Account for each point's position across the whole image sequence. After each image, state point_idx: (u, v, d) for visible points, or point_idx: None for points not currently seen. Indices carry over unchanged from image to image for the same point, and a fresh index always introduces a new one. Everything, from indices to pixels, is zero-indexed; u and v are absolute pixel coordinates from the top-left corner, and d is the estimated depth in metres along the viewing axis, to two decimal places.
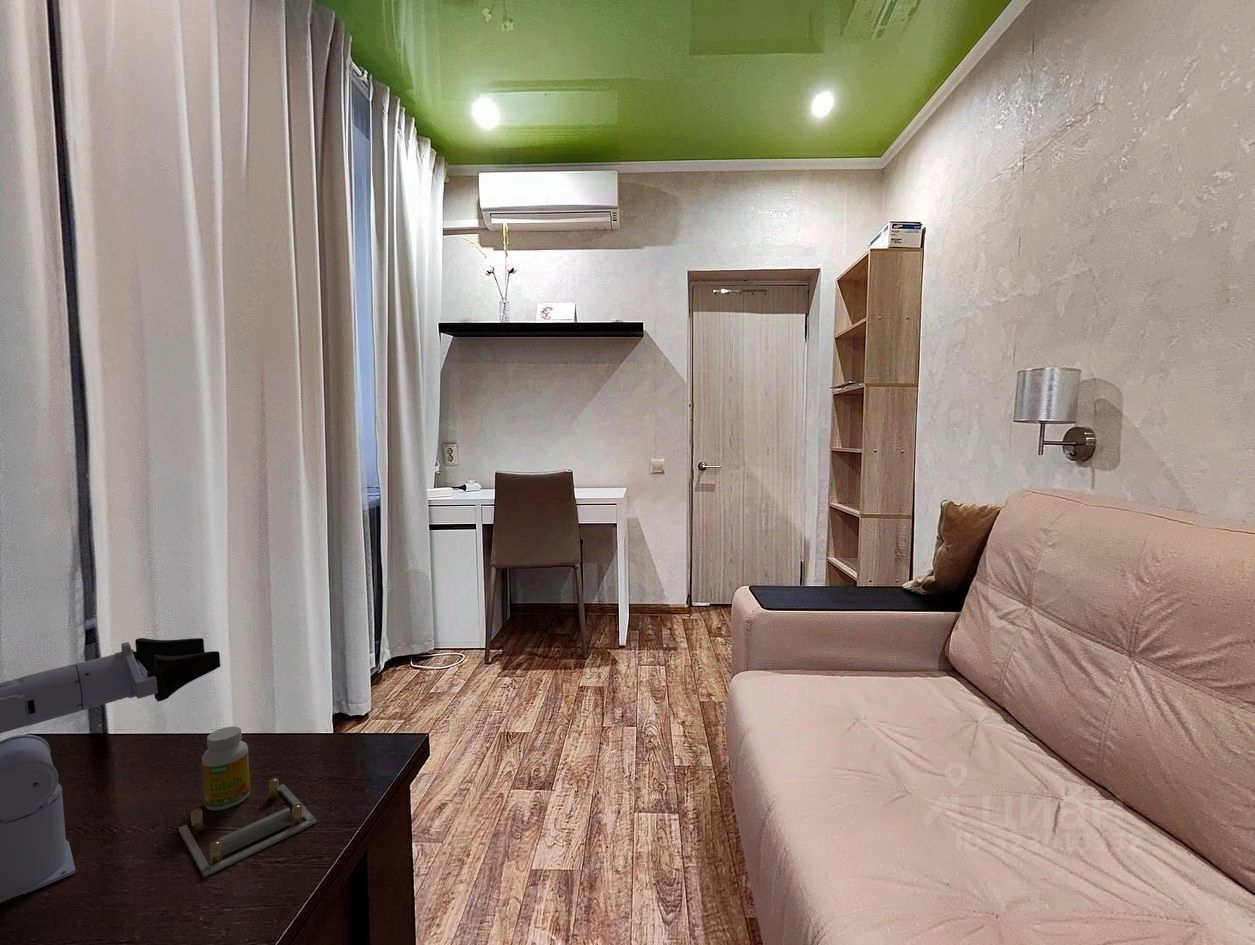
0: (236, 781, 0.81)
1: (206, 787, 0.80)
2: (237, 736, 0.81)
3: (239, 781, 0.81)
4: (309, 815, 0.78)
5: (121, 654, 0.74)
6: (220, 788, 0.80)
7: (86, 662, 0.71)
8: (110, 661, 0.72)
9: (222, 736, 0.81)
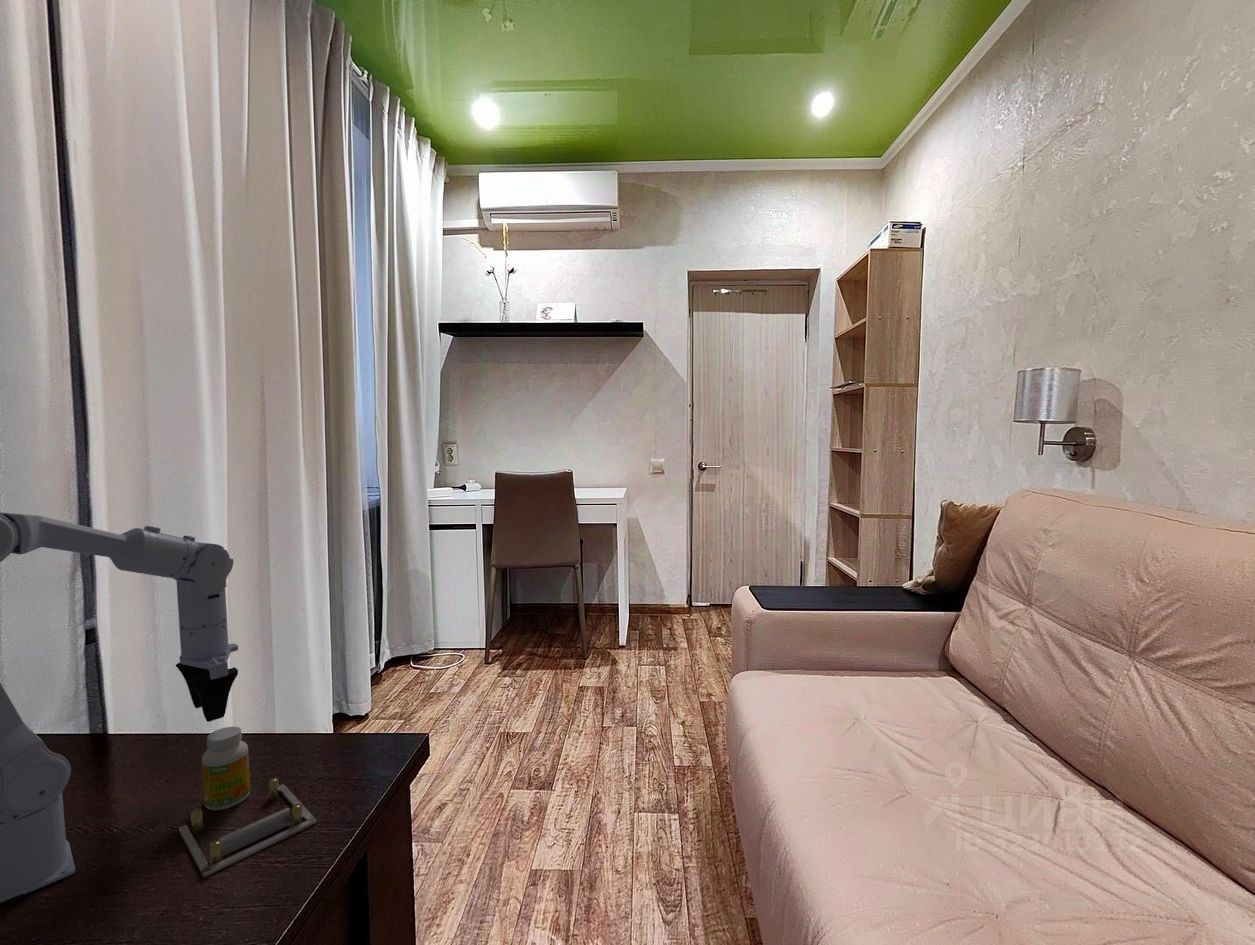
0: (236, 781, 0.81)
1: (206, 787, 0.80)
2: (237, 736, 0.81)
3: (239, 781, 0.81)
4: (309, 815, 0.78)
5: None
6: (220, 788, 0.80)
7: None
8: (227, 639, 0.87)
9: (222, 736, 0.81)
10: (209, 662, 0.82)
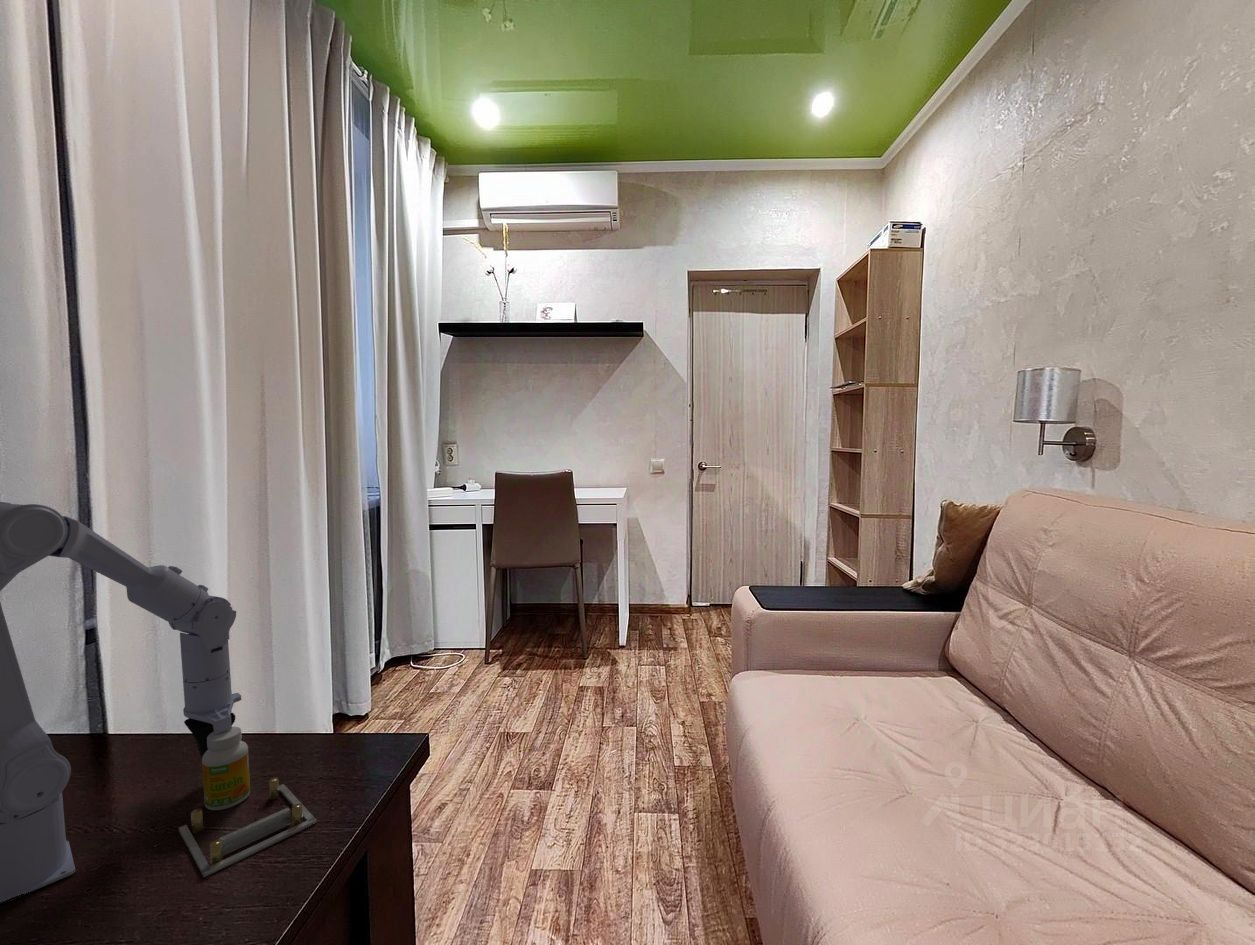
0: (236, 781, 0.81)
1: (206, 787, 0.80)
2: (237, 736, 0.81)
3: (239, 781, 0.81)
4: (309, 815, 0.78)
5: None
6: (220, 788, 0.80)
7: (229, 674, 0.88)
8: (231, 690, 0.88)
9: (222, 736, 0.81)
10: (213, 716, 0.83)
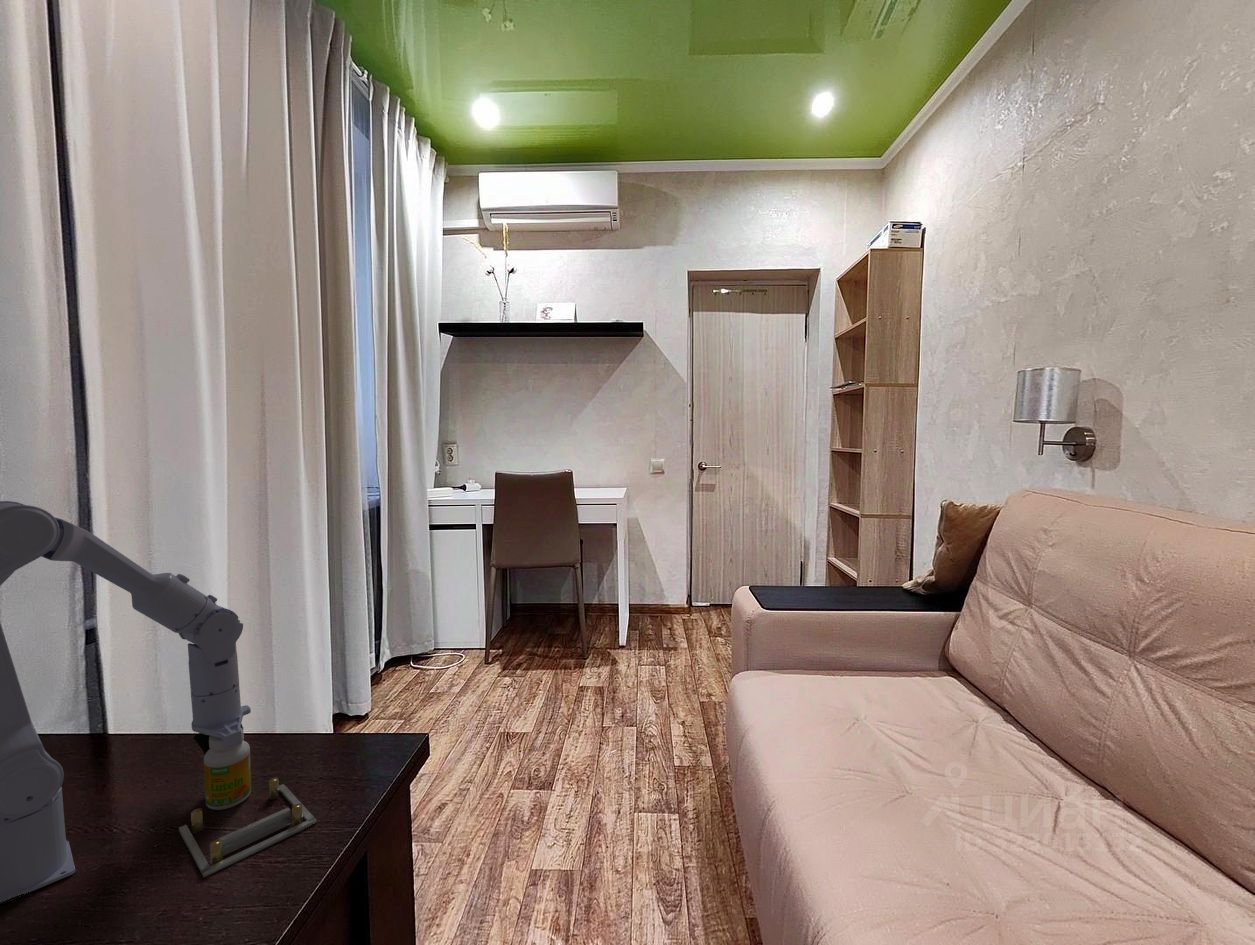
0: (237, 782, 0.80)
1: (207, 786, 0.80)
2: None
3: (240, 782, 0.81)
4: (309, 815, 0.78)
5: (240, 708, 0.86)
6: (221, 789, 0.79)
7: (238, 687, 0.86)
8: (240, 703, 0.85)
9: None
10: (222, 730, 0.80)
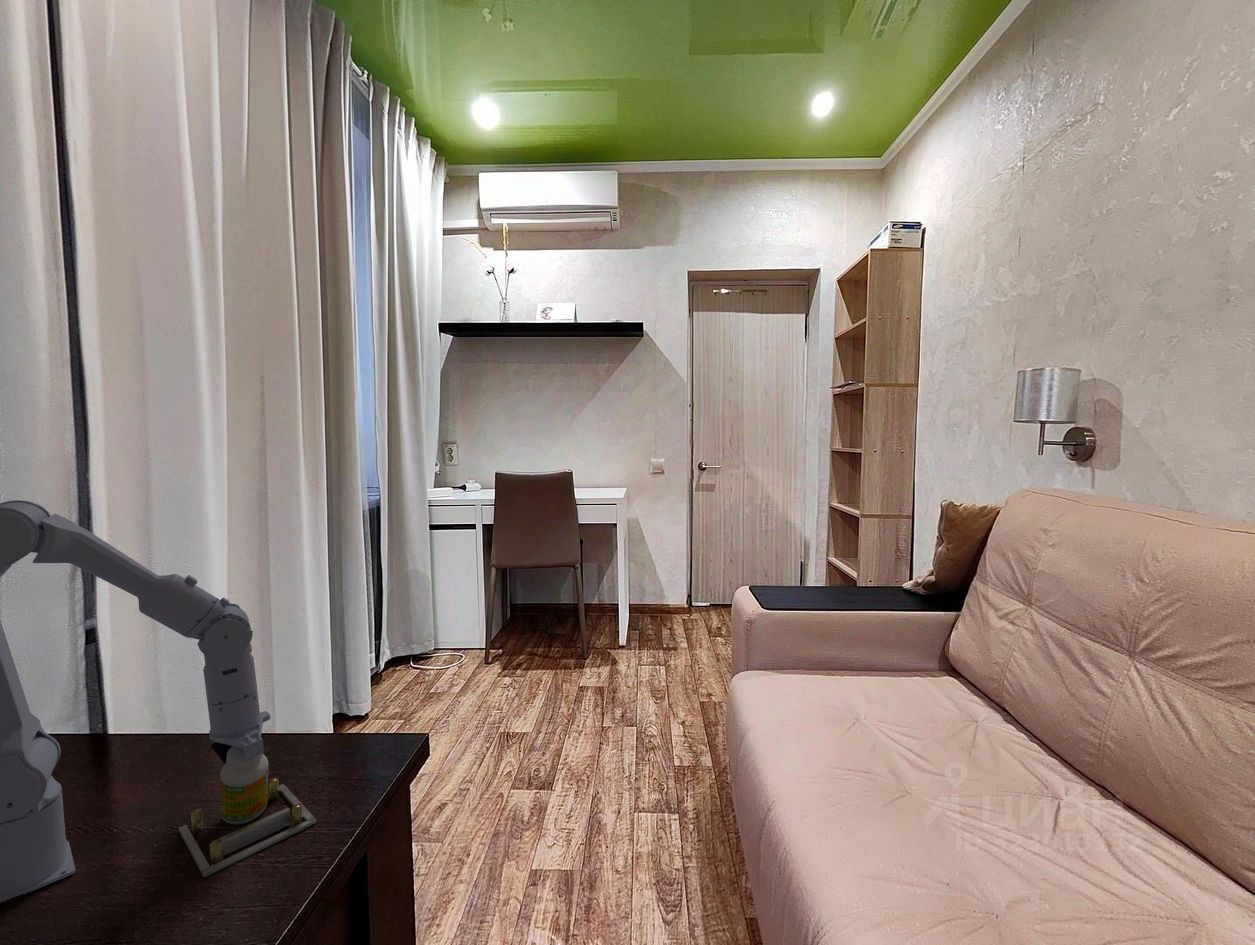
0: (251, 801, 0.77)
1: (222, 800, 0.76)
2: (256, 758, 0.76)
3: (254, 801, 0.77)
4: (309, 815, 0.78)
5: (259, 715, 0.82)
6: (235, 806, 0.76)
7: None
8: (259, 709, 0.81)
9: (241, 756, 0.76)
10: (242, 739, 0.76)
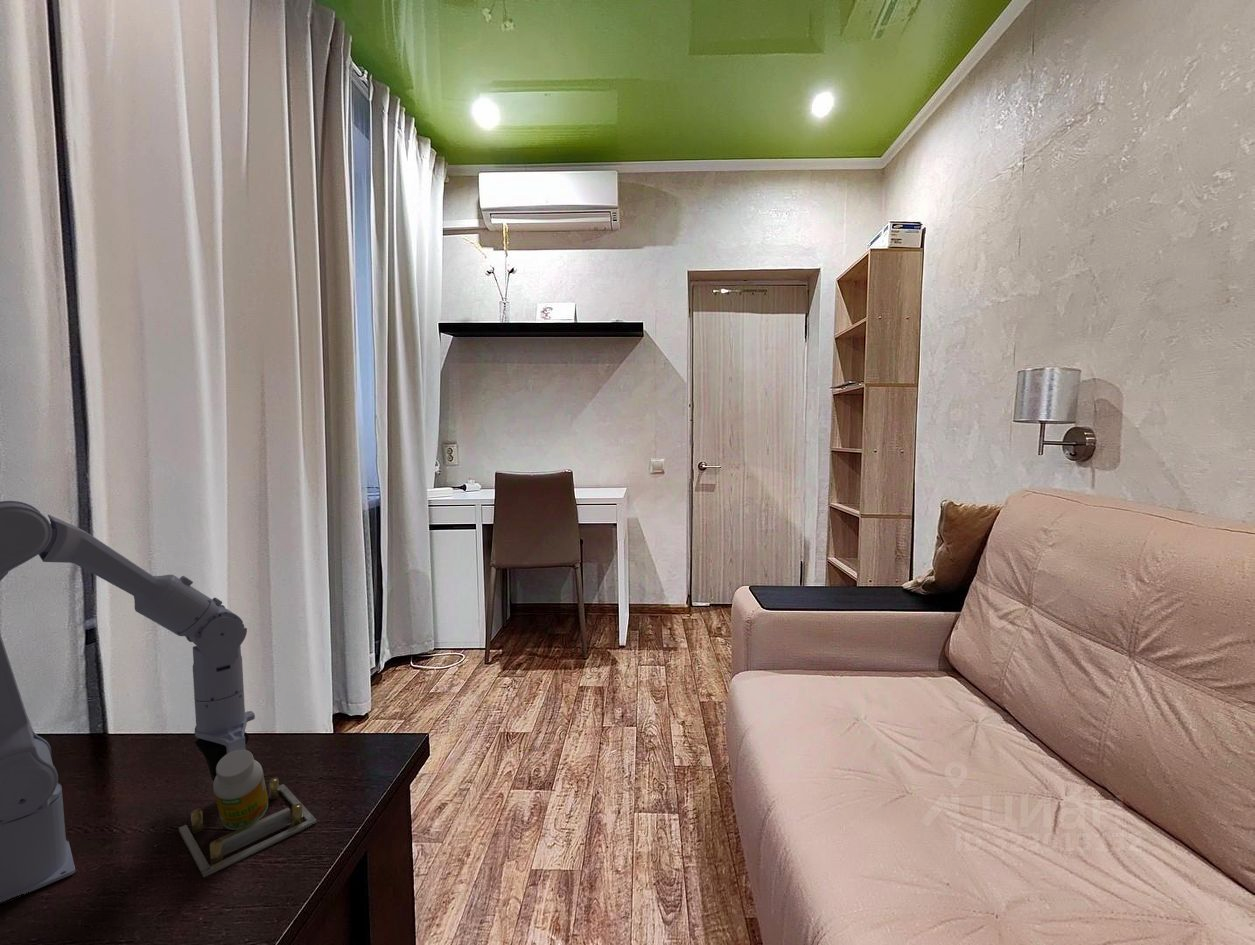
0: (251, 808, 0.75)
1: (219, 810, 0.74)
2: (248, 769, 0.73)
3: (254, 807, 0.75)
4: (309, 815, 0.78)
5: (244, 714, 0.84)
6: (234, 815, 0.74)
7: None
8: (244, 708, 0.83)
9: (232, 769, 0.73)
10: (226, 736, 0.79)
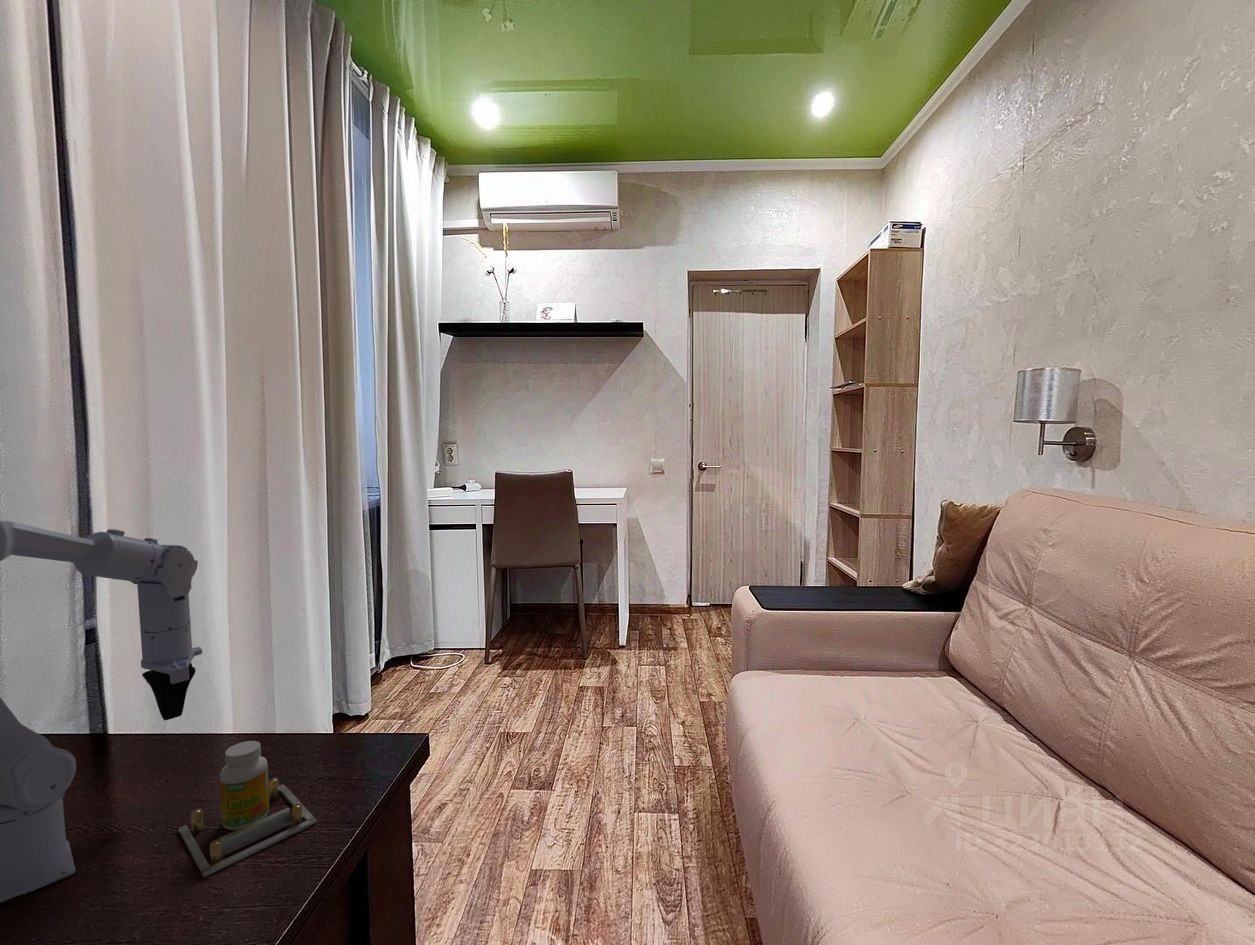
0: (253, 800, 0.76)
1: (223, 804, 0.76)
2: (255, 752, 0.77)
3: (256, 800, 0.77)
4: (309, 815, 0.78)
5: (191, 649, 0.86)
6: (237, 807, 0.75)
7: None
8: (191, 643, 0.86)
9: (240, 752, 0.77)
10: (170, 666, 0.81)
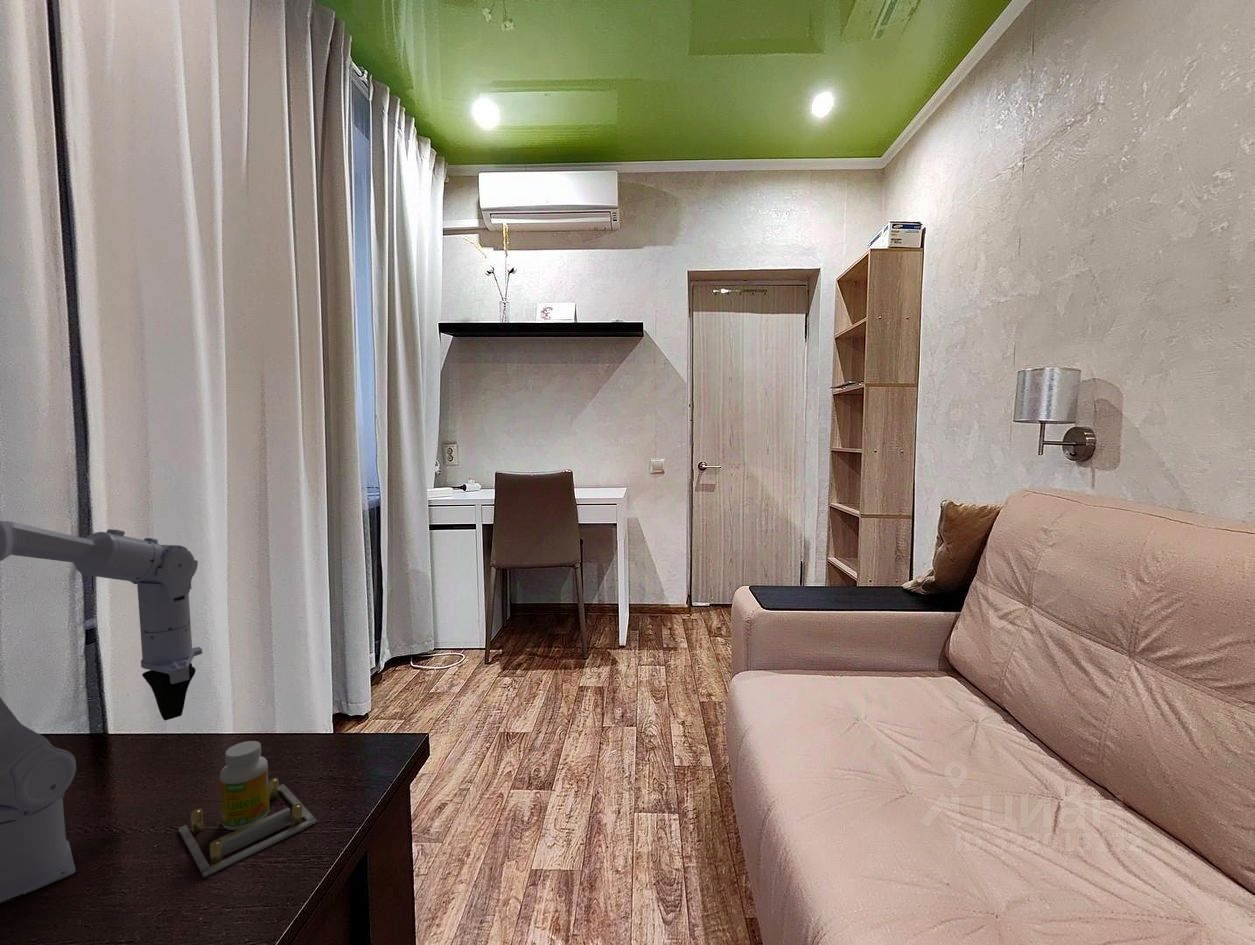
0: (253, 800, 0.76)
1: (223, 804, 0.76)
2: (255, 752, 0.77)
3: (256, 800, 0.77)
4: (309, 815, 0.78)
5: (191, 649, 0.86)
6: (237, 807, 0.75)
7: None
8: (191, 643, 0.86)
9: (240, 752, 0.77)
10: (170, 666, 0.81)
